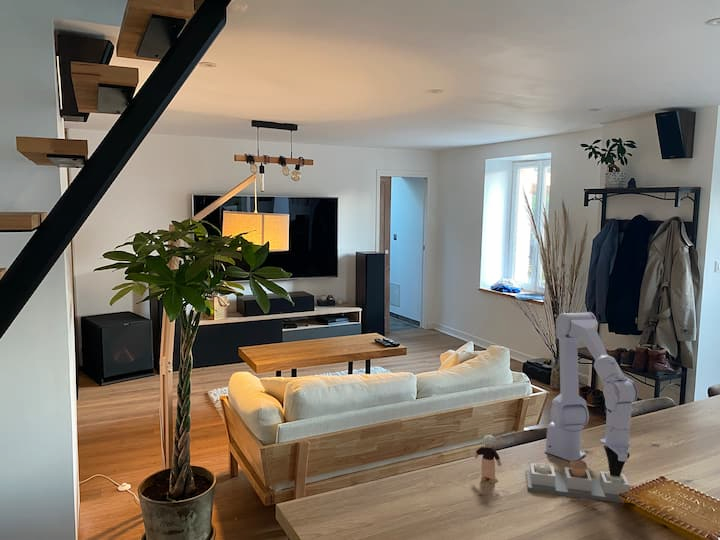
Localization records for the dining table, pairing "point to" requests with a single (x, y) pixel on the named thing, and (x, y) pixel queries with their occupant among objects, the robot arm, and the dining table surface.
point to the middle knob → (578, 468)
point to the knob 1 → (542, 468)
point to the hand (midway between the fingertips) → (614, 475)
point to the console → (576, 484)
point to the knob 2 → (614, 477)
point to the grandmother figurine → (488, 459)
